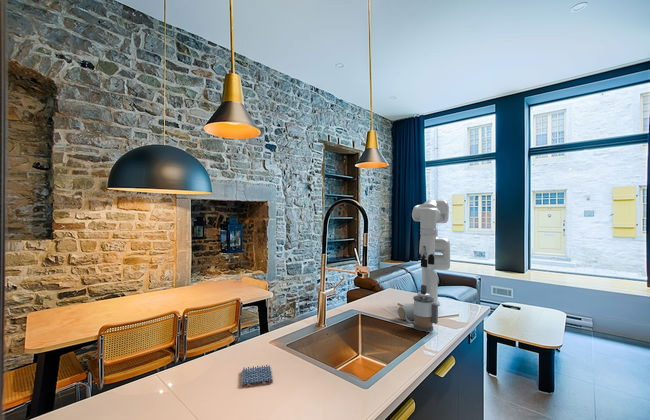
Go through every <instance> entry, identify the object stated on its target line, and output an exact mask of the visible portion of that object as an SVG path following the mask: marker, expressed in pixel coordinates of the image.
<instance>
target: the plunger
mask: <svg viewBox="0 0 650 420" xmlns="http://www.w3.org/2000/svg"><path fill="white" fill-rule="evenodd" d="M416 295H419V296H422V299H425V297H429V296H430V293H427V285H422V284H420V291H417V294H416Z"/></svg>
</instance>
